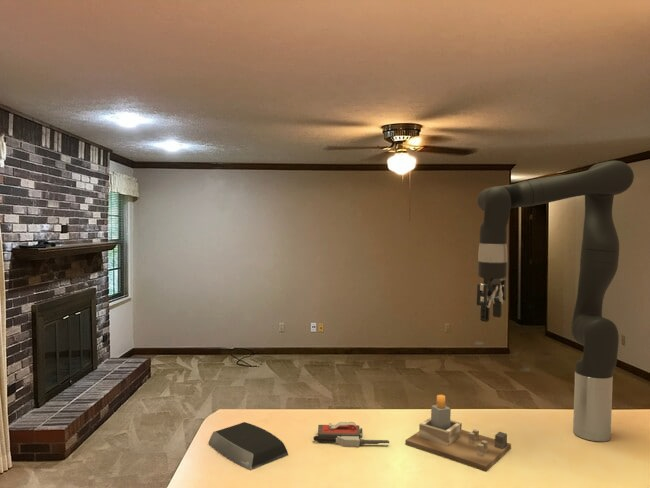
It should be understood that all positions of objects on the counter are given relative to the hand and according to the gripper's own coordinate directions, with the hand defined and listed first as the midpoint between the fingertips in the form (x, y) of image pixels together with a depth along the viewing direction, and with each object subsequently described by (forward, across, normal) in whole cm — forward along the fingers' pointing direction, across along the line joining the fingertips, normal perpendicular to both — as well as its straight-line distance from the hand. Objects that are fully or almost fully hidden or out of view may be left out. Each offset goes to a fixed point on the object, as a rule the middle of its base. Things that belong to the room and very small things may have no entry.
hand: (491, 319), depth 140 cm
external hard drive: (+33, -50, +43) cm, 74 cm away
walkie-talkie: (+33, -28, +27) cm, 51 cm away
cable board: (+32, -13, +3) cm, 35 cm away
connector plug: (+31, -13, +8) cm, 34 cm away
